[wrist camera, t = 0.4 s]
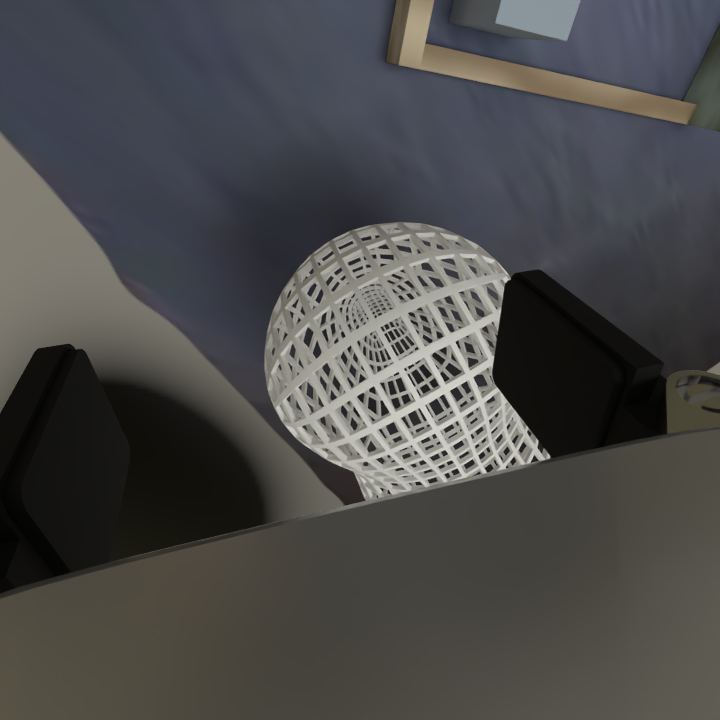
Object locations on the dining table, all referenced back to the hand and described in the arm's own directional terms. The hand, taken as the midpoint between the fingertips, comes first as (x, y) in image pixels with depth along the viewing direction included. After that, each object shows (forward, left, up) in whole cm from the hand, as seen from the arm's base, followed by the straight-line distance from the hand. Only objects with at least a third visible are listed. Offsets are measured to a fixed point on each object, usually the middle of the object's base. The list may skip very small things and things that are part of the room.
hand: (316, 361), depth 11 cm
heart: (+14, +12, -29) cm, 34 cm away
